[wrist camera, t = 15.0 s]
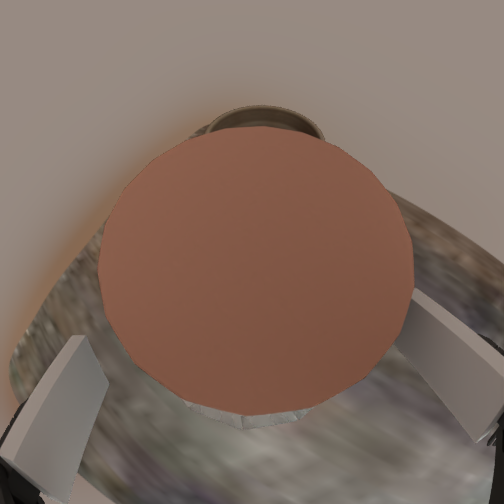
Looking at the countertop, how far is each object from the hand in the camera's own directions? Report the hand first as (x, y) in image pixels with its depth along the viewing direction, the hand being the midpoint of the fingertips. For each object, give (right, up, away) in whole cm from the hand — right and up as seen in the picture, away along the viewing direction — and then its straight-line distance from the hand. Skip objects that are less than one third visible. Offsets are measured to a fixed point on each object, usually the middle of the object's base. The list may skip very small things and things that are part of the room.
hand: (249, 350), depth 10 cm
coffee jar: (0, -4, +15) cm, 15 cm away
